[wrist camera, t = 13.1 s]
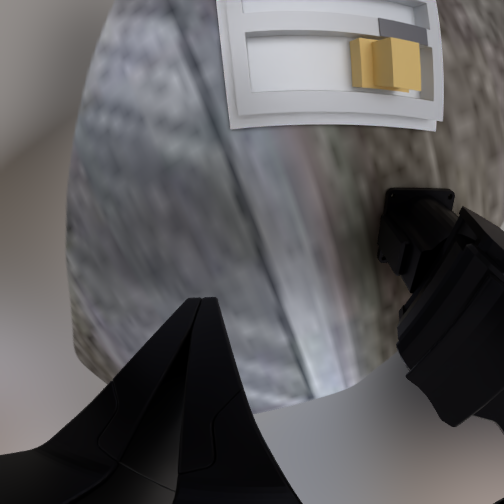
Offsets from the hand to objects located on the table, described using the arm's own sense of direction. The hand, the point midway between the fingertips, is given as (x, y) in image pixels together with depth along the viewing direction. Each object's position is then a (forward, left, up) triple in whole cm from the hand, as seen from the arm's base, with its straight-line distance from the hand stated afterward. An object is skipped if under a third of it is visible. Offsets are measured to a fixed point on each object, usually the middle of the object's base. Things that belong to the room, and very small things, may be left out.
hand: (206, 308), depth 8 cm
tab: (-9, -7, -12) cm, 16 cm away
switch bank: (-7, -11, -13) cm, 18 cm away
